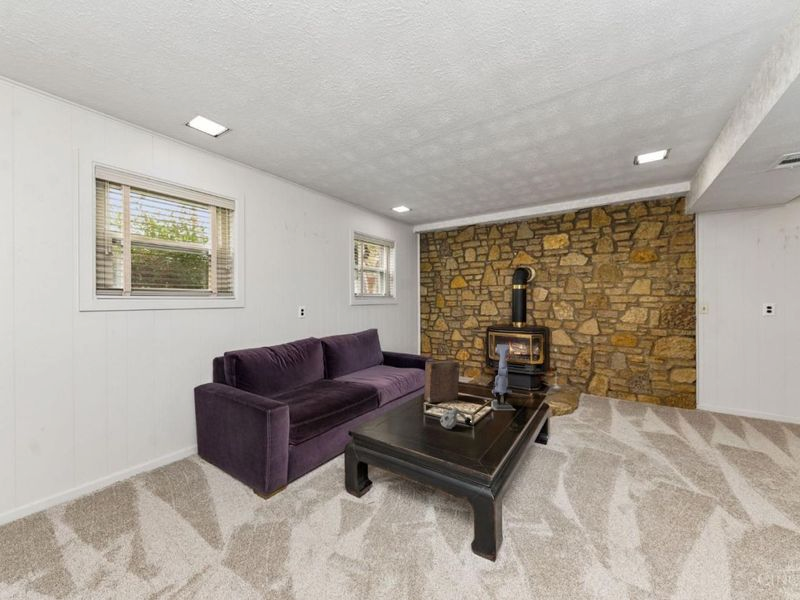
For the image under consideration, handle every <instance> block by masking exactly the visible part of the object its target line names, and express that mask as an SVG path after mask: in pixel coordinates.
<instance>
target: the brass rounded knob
mask: <svg viewBox="0 0 800 600" xmlns="http://www.w3.org/2000/svg"><path fill="white" fill-rule="evenodd" d="M498 405H504V395H503V394H500V402H499V403H498Z"/></svg>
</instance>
